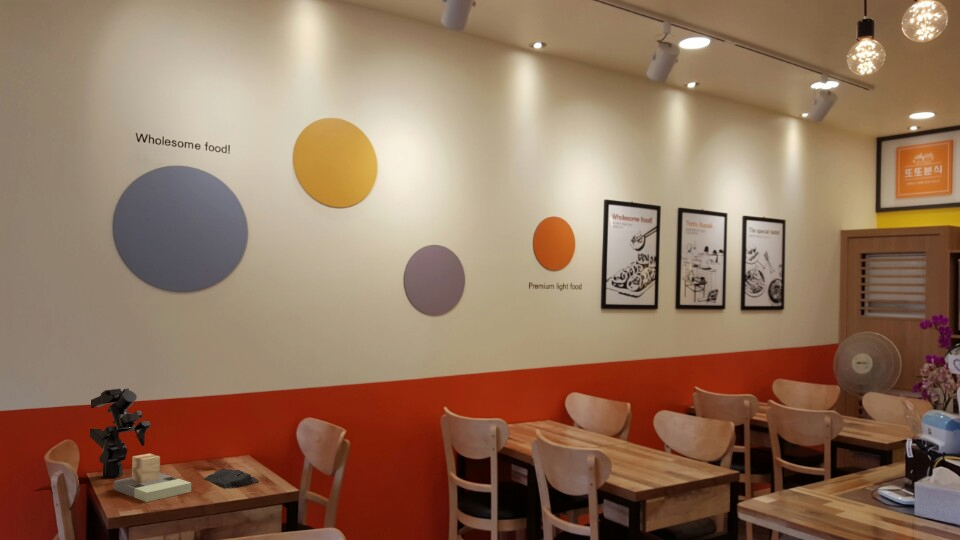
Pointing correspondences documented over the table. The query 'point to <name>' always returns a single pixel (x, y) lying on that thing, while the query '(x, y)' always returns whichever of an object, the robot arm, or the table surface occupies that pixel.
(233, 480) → the dark slate chunk
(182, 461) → the table surface
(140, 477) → the maple block
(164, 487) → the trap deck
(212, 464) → the table surface
